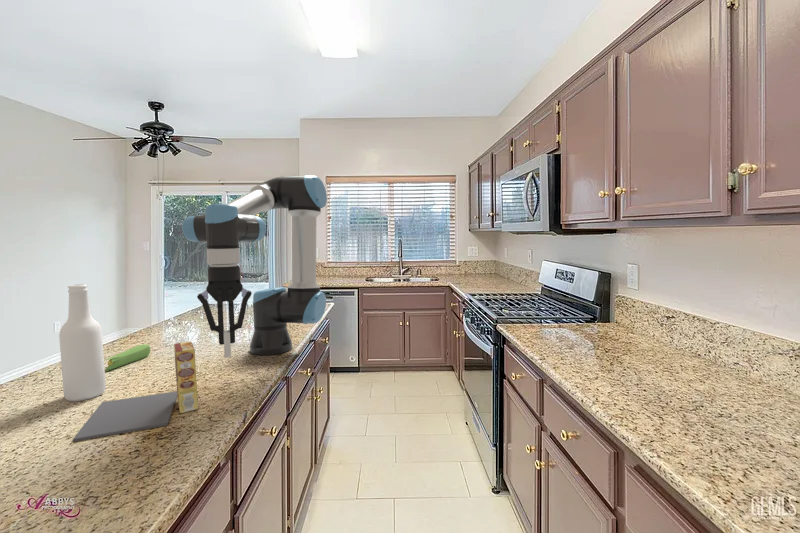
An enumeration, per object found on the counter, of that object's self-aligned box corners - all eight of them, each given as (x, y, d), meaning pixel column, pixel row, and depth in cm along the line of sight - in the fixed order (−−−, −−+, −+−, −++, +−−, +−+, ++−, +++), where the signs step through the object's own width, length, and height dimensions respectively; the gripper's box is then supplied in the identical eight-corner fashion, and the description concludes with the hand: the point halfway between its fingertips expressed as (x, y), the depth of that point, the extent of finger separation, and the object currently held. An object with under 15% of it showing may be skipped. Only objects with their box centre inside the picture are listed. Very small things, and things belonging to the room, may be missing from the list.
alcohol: (71, 404, 98) (63, 287, 96) (58, 397, 103) (49, 285, 101) (111, 393, 106) (104, 284, 104) (97, 386, 111) (90, 282, 108)
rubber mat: (178, 393, 105) (178, 390, 105) (167, 425, 87) (167, 422, 87) (102, 404, 99) (102, 401, 99) (72, 441, 80) (72, 439, 80)
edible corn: (156, 343, 141) (145, 339, 141) (107, 363, 121) (94, 358, 122) (153, 356, 141) (142, 352, 142) (104, 378, 122) (91, 373, 122)
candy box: (198, 409, 95) (195, 348, 94) (179, 414, 93) (175, 351, 91) (194, 397, 102) (192, 340, 101) (176, 401, 100) (173, 343, 99)
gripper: (250, 263, 105) (253, 349, 106) (196, 265, 100) (200, 355, 101) (251, 265, 98) (255, 356, 100) (193, 267, 93) (198, 363, 94)
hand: (227, 356), depth 100 cm, fingers closed
